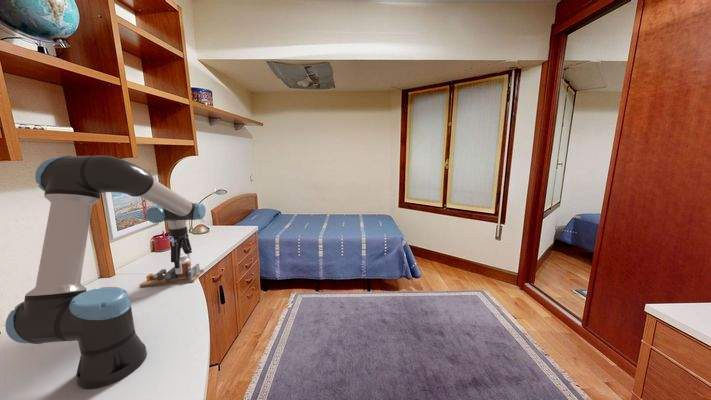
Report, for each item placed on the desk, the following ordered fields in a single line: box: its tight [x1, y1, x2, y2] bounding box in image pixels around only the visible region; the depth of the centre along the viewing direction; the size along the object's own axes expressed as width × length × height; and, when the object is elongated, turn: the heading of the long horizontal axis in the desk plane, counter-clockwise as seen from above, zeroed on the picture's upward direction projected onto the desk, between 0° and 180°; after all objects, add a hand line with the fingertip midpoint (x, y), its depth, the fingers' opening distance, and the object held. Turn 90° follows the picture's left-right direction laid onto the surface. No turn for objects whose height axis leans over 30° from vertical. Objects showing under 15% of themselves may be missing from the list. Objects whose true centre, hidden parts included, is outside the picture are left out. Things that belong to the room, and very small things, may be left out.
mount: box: [139, 263, 205, 288], centre depth 132 cm, size 13×24×5 cm, turn 101°
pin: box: [146, 273, 165, 281], centre depth 131 cm, size 3×8×2 cm, turn 101°
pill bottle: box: [177, 253, 192, 278], centre depth 132 cm, size 6×6×11 cm
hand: (183, 269), depth 133 cm, fingers open, 9 cm apart
